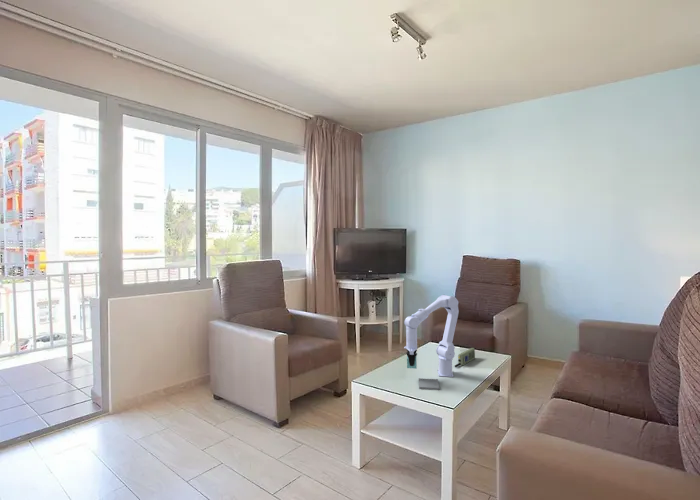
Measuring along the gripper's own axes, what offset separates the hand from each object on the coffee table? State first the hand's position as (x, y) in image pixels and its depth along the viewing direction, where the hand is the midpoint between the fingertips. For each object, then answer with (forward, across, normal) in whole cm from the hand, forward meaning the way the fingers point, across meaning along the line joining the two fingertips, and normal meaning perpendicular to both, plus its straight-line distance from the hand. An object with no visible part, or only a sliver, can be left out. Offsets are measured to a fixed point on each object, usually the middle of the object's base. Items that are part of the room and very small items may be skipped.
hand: (411, 364), depth 202 cm
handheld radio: (+9, -33, +32) cm, 47 cm away
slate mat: (+8, +7, +8) cm, 14 cm away
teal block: (+2, 0, 0) cm, 2 cm away
